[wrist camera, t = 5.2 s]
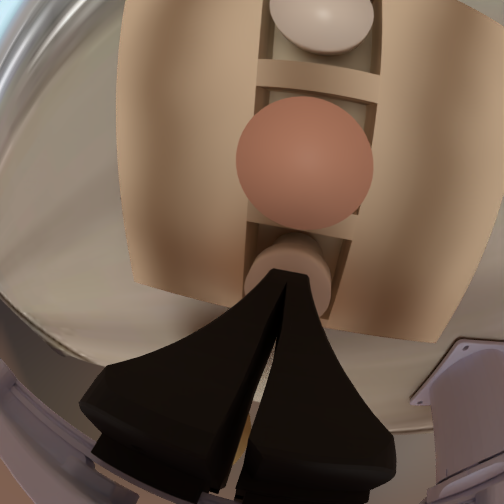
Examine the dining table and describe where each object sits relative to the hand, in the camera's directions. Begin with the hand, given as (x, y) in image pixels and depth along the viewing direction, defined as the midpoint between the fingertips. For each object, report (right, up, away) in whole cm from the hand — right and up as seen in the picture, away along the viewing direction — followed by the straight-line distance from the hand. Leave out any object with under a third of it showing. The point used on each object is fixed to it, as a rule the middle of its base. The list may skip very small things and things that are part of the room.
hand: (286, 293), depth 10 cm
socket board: (+1, +6, +1) cm, 7 cm away
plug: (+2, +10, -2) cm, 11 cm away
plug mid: (+1, +5, -2) cm, 5 cm away
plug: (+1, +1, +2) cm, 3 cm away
